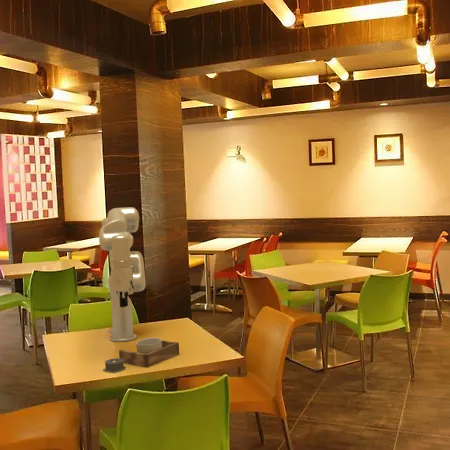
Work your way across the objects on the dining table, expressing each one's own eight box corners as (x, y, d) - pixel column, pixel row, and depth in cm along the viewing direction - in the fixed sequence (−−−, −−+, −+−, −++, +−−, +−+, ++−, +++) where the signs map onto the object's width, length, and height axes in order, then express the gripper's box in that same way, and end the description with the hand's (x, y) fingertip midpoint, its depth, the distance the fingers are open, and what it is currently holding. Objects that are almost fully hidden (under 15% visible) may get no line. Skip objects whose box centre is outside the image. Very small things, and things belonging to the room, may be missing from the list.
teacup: (160, 363, 240) (159, 343, 239) (134, 363, 240) (133, 344, 240) (166, 353, 254) (165, 334, 253) (141, 353, 254) (140, 335, 254)
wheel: (101, 369, 233) (101, 362, 233) (114, 364, 238) (114, 357, 238) (114, 371, 229) (114, 364, 229) (127, 366, 235) (126, 359, 234)
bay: (119, 362, 243) (118, 350, 243) (152, 349, 260) (151, 338, 259) (147, 367, 234) (146, 355, 234) (179, 354, 251) (178, 342, 251)
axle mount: (103, 370, 233) (102, 362, 233) (114, 366, 238) (114, 357, 238) (114, 372, 229) (114, 364, 229) (126, 368, 235) (125, 359, 234)
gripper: (102, 264, 249) (105, 306, 251) (128, 267, 241) (130, 310, 243) (115, 261, 255) (117, 302, 257) (140, 263, 247) (143, 306, 249)
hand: (123, 306), depth 250 cm, fingers closed
